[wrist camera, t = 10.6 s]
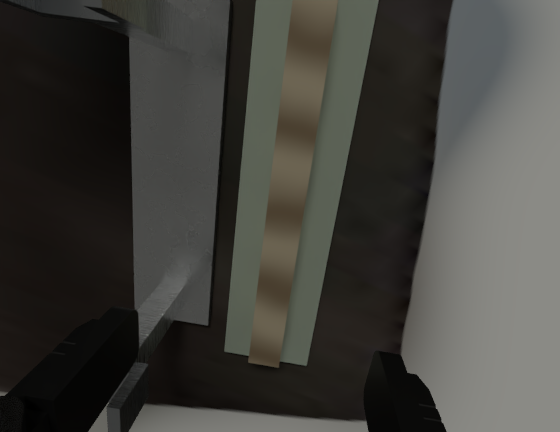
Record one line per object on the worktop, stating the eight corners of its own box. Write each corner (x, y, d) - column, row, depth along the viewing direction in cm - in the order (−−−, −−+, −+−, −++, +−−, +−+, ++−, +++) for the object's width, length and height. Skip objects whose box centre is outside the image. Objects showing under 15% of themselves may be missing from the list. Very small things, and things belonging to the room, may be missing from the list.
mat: (262, -41, 24) (260, -47, 23) (382, -27, 24) (385, -33, 23) (226, 345, 36) (224, 351, 35) (306, 359, 35) (306, 365, 34)
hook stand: (134, -11, 26) (-88, -161, 11) (233, 2, 25) (131, -139, 11) (139, 307, 35) (23, 442, 21) (210, 319, 35) (141, 465, 21)
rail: (297, -10, 24) (295, -26, 21) (338, -5, 24) (341, -21, 21) (253, 341, 34) (248, 362, 31) (281, 346, 34) (278, 367, 31)
